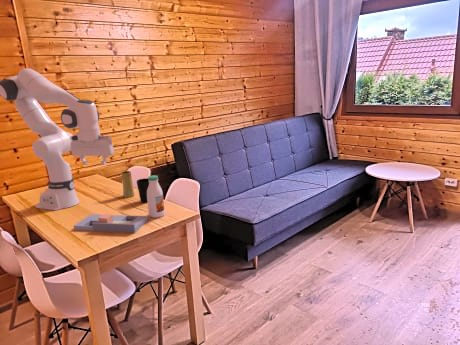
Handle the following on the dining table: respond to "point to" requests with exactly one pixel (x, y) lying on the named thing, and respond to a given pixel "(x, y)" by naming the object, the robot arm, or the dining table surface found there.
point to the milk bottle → (155, 198)
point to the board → (112, 224)
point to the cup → (143, 189)
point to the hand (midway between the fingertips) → (94, 164)
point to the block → (106, 219)
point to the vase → (127, 184)
